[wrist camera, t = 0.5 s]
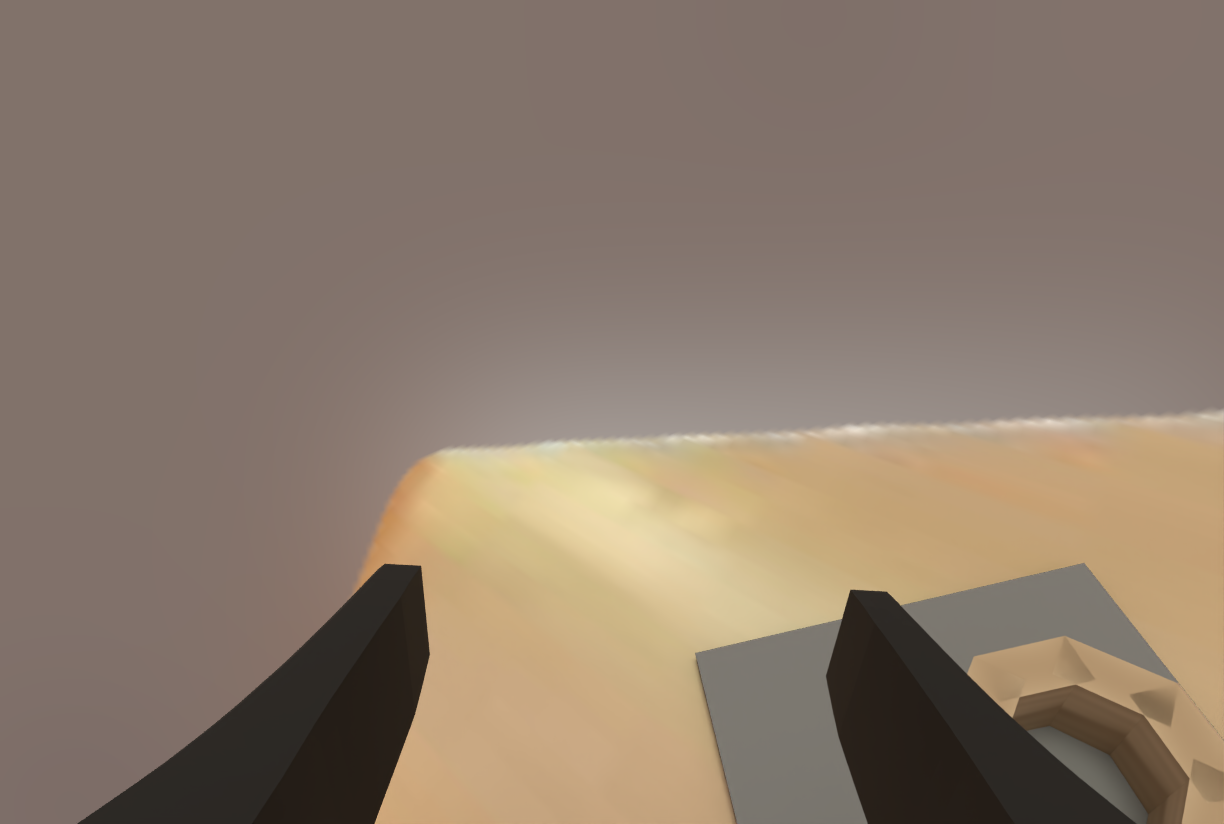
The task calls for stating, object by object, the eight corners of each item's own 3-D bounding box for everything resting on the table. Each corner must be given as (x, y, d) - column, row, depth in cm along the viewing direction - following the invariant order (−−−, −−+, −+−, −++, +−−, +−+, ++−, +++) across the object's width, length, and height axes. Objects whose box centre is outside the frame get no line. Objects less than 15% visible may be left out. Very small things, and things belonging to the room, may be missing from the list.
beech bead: (1273, 911, 20) (1337, 884, 18) (1016, 965, 20) (1044, 946, 18) (1099, 666, 26) (1129, 620, 23) (900, 711, 26) (909, 671, 23)
